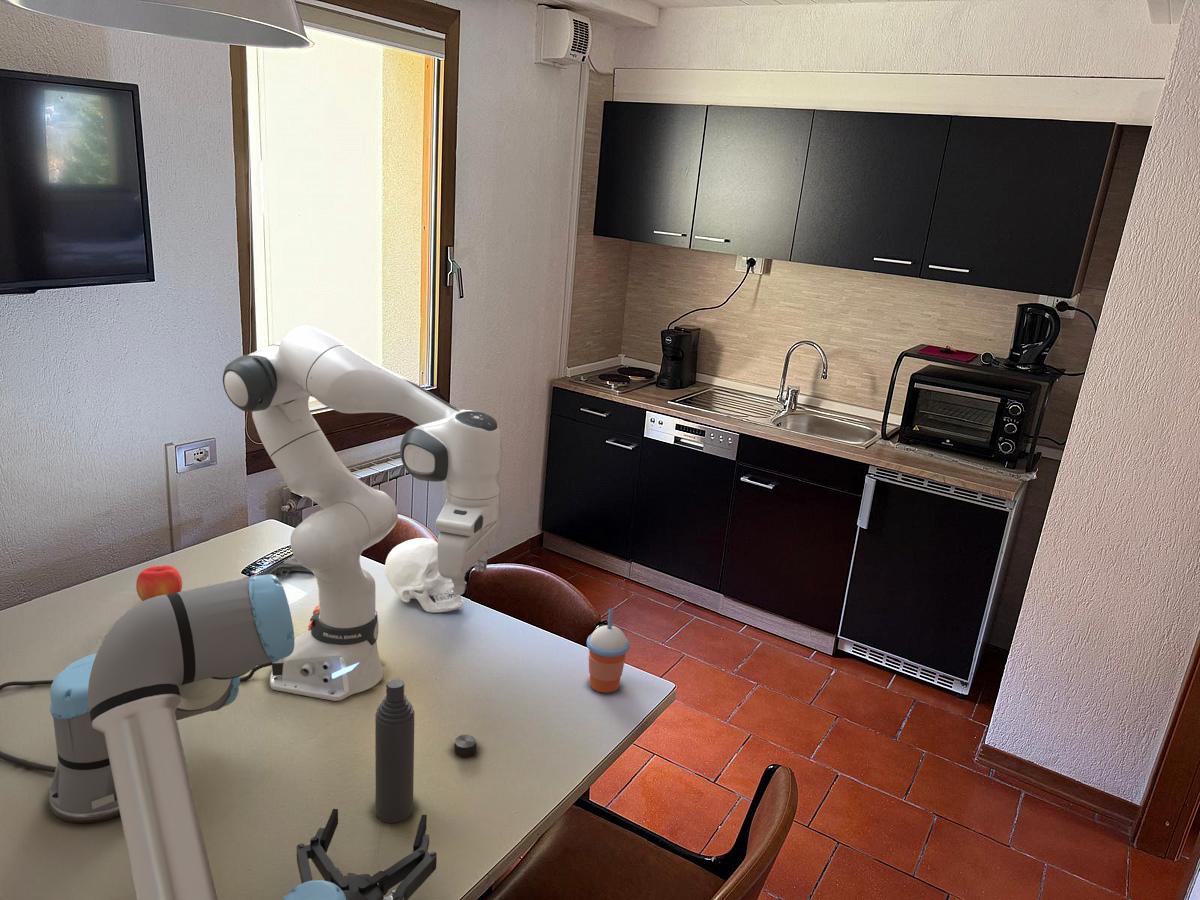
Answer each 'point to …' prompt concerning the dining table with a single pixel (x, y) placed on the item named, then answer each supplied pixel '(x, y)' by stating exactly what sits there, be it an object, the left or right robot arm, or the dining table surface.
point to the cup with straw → (606, 656)
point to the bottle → (394, 755)
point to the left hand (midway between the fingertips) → (380, 818)
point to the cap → (465, 746)
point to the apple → (158, 582)
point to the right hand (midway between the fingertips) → (470, 580)
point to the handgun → (285, 568)
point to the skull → (420, 576)
